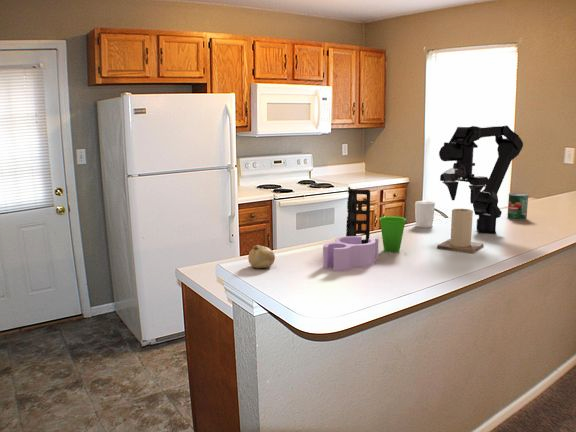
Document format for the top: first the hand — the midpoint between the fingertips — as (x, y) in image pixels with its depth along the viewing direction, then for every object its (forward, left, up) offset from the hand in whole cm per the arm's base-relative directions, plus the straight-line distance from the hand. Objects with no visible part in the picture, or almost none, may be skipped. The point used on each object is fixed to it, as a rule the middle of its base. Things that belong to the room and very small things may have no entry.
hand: (462, 201), depth 192 cm
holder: (+36, +23, -13) cm, 45 cm away
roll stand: (+1, +19, -13) cm, 23 cm away
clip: (+34, +49, -13) cm, 61 cm away
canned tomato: (-25, -42, -13) cm, 51 cm away
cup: (+23, +30, -13) cm, 40 cm away
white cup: (+14, -15, -13) cm, 24 cm away
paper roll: (+1, +19, -12) cm, 23 cm away
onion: (+59, +60, -13) cm, 85 cm away
